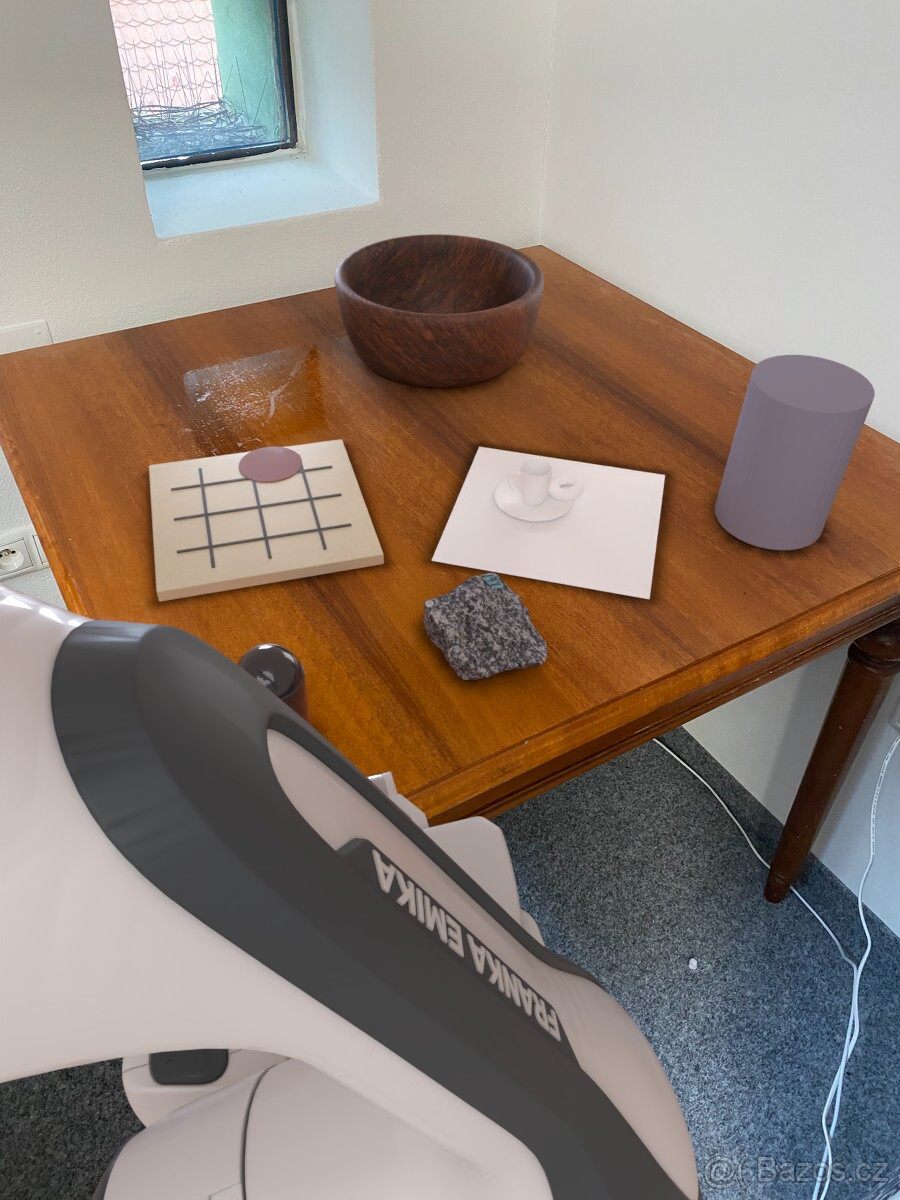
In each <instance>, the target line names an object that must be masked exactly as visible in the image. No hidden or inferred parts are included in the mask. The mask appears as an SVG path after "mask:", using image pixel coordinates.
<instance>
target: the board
mask: <svg viewBox="0 0 900 1200" xmlns="http://www.w3.org/2000/svg"><path fill="white" fill-rule="evenodd" d="M148 476H149V477H148V478H149V492H150V494H149V495H150V507H151V522H152V523H151V525H152V542H153V558H154V559H153V560H154V574H155V575H154V576H155V591H156V595H157V599H158V602H159V603H161V602H167V601H173V600H178V599H185V598H190V597H195V596H196V597H197V596H201V595H207V594H214V593H219V592H220V593H221V592H226V591H233V590H238V589H244V588H251V587H255V586H256V587H257V586H261V585H268V584H274V583H279V582H286V581H292V580H298V579H303V578H309V577H314V576H321V575H322V576H323V575H328V574H333V573H339V572H345V571H351V570H356V569H363V568H369V567H375V566H380V565H384V564H385V560H384V559H385V558H384V557H385V555H384V552H383V550H382V546H381V544H380V540H379V538H378V535H377V532H376V530H375V526H374V524H373V522H372V521H373V520H372V518H371V516H370V513H369V510H368V507H367V505H366V502H365V499H364V496H363V493H362V490H361V488H360V485H359V482H358V479H357V477H356V474H355V471H354V468H353V465H352V463H351V461H350V457H349V455H348V452H347V449H346V446H345V443H344V441H343V439H332V440H326V441H318V442H311V443H305V444H296V445H289V446H264V447H260V448H257V449H254V450H252V451H251V450H250V451H246V452H244V451H243V452H237V453H236V452H235V453H231V454H223V455H215V456H208V457H200V458H199V457H198V458H193V459H185V460H178V461H177V460H176V461H170V462H163V463H156V464H149V465H148Z"/></svg>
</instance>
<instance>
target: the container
mask: <svg viewBox="0 0 900 1200" xmlns="http://www.w3.org/2000/svg"><path fill="white" fill-rule="evenodd" d="M875 396H876V395H875V388H874V387H873V384H872V383H871V382H870V380H869V379H868V378H867V377H866V376H864V374H862V373H861V372H859V371H857V370H856V369H854V368H852V367H850V366H848V365H845V364H844V363H840V362H837V361H834V360H832V359H827V358H824V357H819V356H813V355H804V354H782V355H775V356H771V357H768V358H765V359H763V360H760V361H759V362H758V363H756V364H755V366H754V367H752V369H751V373H750V377H749V381H748V385H747V389H746V392H745V396H744V398H743V399H744V400H743V403H742V406H741V410H740V413H739V418H738V421H737V425H736V428H735V432H734V435H733V439H732V442H731V446H730V451H729V453H728V457H727V461H726V464H725V467H724V472H723V475H722V479H721V483H720V486H719V490H718V493H717V496H716V499H715V504H714V515H715V517H716V519H717V522H718V523H719V524H720V526H721V527H722V528H723V529H724V530H725V531H726V532H727V533H728V534H730V535H732V536H733V537H734V538H736V539H738V540H740V541H742V542H744V543H746V544H749V545H751V546H755V547H757V548H761V549H762V548H763V549H766V550H773V551H794V550H800V549H803V548H806V547H809V546H810V545H812V544H814V543H815V542H816V541H818V540H819V538H820V537H821V535H822V533H823V531H824V528H825V525H826V522H827V521H828V518H829V515H830V512H831V510H832V507H833V505H834V502H835V499H836V497H837V494H838V491H839V489H840V487H841V484H842V481H843V479H844V476H845V473H846V471H847V468H848V466H849V463H850V461H851V458H852V455H853V453H854V450H855V448H856V445H857V442H858V440H859V438H860V435H861V433H862V431H863V427H864V425H865V423H866V420H867V417H868V415H869V412H870V409H871V407H872V405H873V402H874V399H875Z"/></svg>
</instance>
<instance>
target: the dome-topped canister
mask: <svg viewBox="0 0 900 1200" xmlns="http://www.w3.org/2000/svg"><path fill="white" fill-rule="evenodd" d="M236 664H237V665H239V666H240V667H241V668H243V669H244V670H245V671H247V672H248V673H249V674H251V675H252V676H253V677H254V678H256V679H257V680H258V681H259V682H261V683H262V684H263V685H264V686H265V687H267V688H268V689H269V690H270V691H272V692H273V693H274V694H275V695H276V696H277V697H279V698H280V699H281V700H282V701H283V702H284V703H286V704H287V705H288V706H289V707H290V708H291V709H293V710H294V711H295V712H296V713H297V714H298V715H300V716H301V717H302V718H303V719H304V720H305V721H306V722H308V723H309V724H310V725H311V726H312V727H313V724H312V722H313V721H312V715H311V707H310V701H309V694H308V693H309V692H308V685H307V679H306V673H305V672H306V671H305V668H304V665H303V663H302V662H301V660H300V659H299V658H298V657H297V655H296V654H295V653H294V652H293V651H292V650H291V649H289V648H287V647H285V646H284V645H281V644H278V643H273V642H272V643H271V642H269V643H267V642H266V643H259V644H257V645H255V646H252V647H250V648H249V649H248V650H246V651H245V652H244V653H243V654H242V655H241V656H240V658H239V659H238V661H237V663H236Z"/></svg>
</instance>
